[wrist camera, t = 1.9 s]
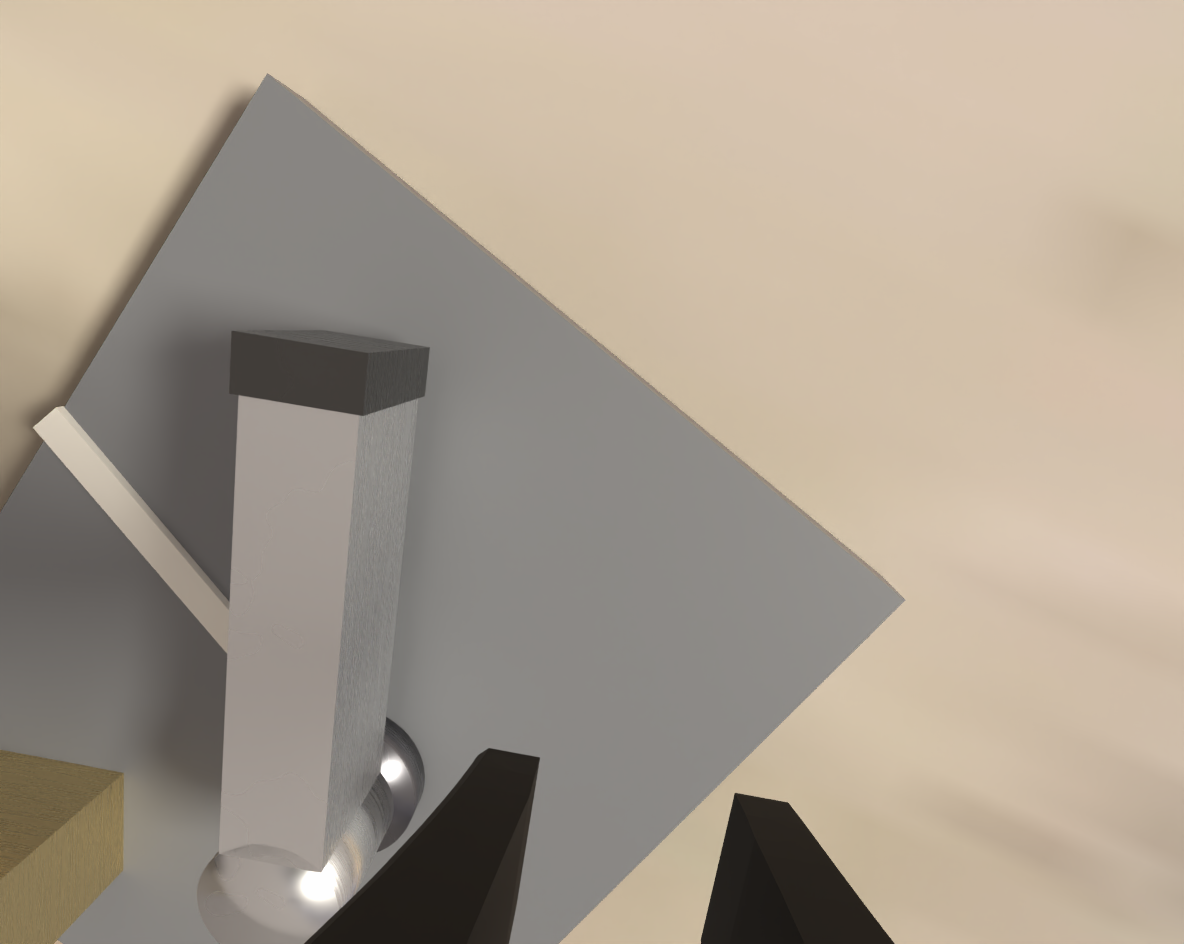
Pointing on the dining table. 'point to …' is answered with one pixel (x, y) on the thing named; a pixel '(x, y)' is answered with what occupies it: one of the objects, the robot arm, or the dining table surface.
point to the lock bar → (310, 625)
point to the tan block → (55, 843)
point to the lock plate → (407, 544)
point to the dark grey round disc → (401, 779)
